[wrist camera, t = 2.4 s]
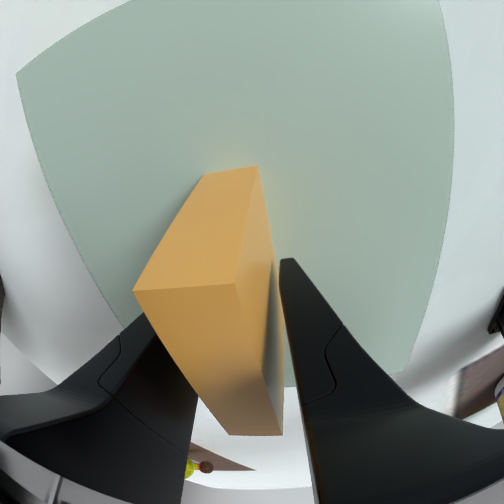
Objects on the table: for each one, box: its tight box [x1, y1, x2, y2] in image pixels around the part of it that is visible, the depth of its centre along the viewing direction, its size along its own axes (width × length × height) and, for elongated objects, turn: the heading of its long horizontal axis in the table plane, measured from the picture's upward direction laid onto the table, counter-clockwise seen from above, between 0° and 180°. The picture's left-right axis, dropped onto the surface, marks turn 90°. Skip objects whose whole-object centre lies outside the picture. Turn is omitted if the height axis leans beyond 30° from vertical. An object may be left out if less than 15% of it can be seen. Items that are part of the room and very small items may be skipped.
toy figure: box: [184, 458, 214, 479], centre depth 41 cm, size 18×6×7 cm, turn 133°
